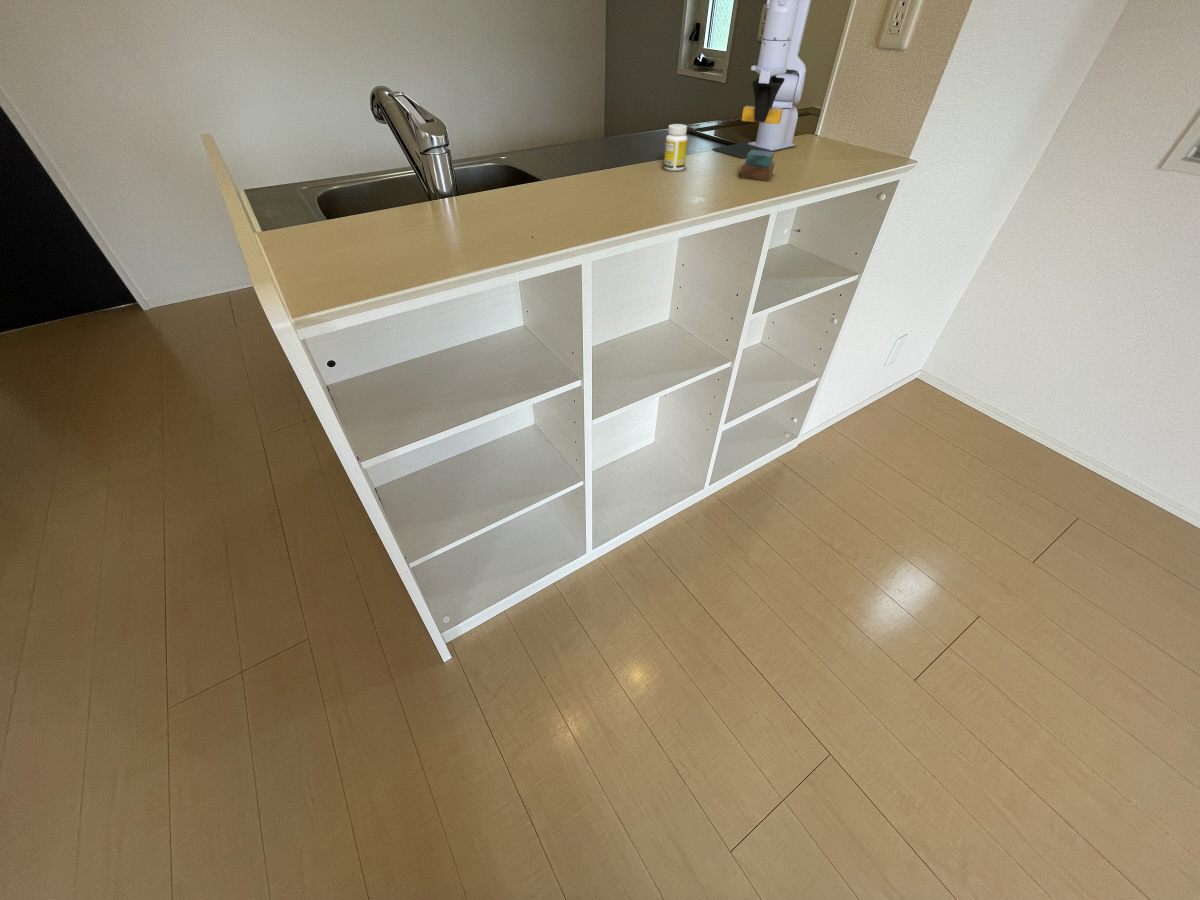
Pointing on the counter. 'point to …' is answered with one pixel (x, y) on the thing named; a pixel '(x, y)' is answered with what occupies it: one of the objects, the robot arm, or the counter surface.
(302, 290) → the counter surface
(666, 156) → the supplement bottle
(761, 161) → the two-tone stacked block
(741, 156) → the mat
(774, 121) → the bar
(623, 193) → the counter surface
